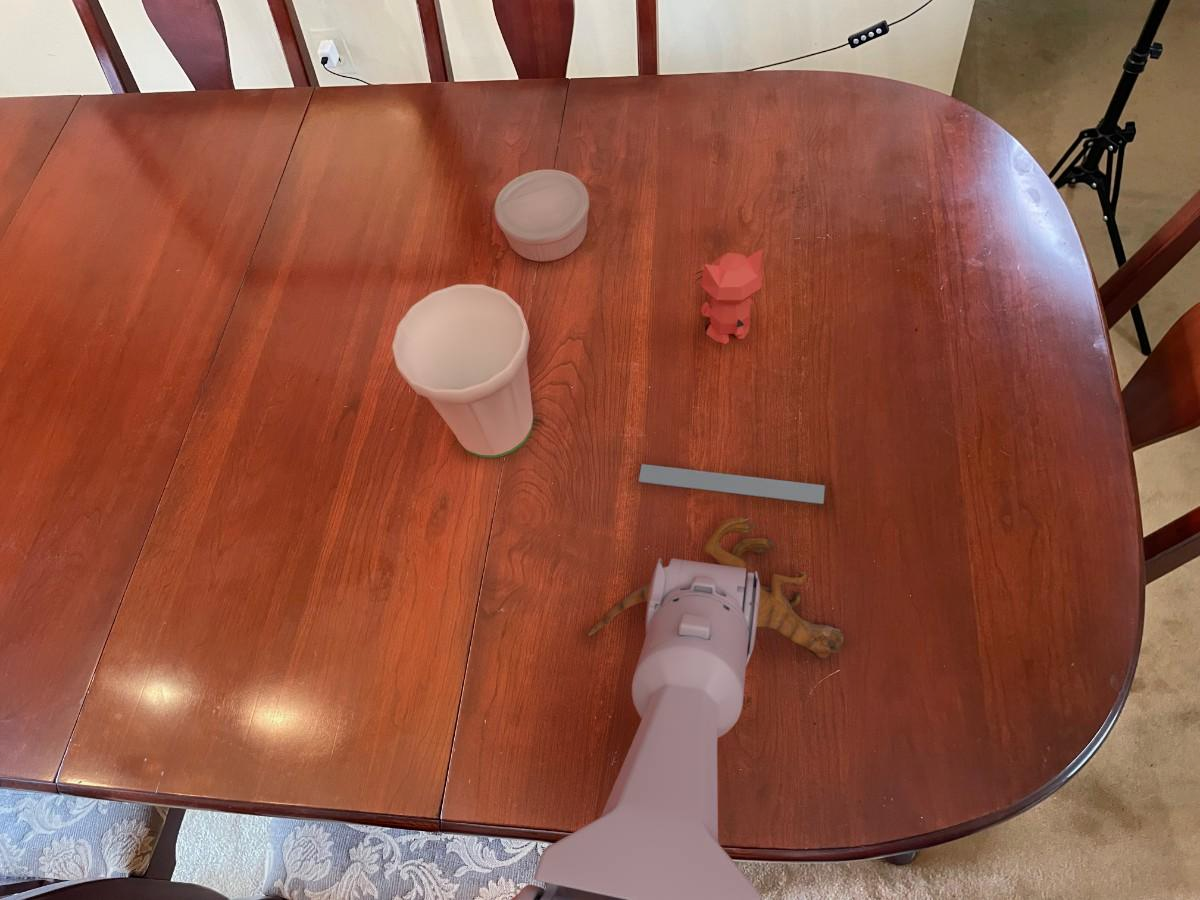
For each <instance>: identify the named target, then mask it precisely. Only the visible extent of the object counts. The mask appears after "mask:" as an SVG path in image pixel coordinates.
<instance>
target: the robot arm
mask: <svg viewBox="0 0 1200 900" xmlns="http://www.w3.org/2000/svg"><path fill="white" fill-rule="evenodd" d="M746 577H747V581H746V587H745V578H746ZM650 584H651V585H650V590H649V596H648V601H647V603H646V611H645V612H646V614H645V638H644V641H643V644H642V648H641V650H640V654H639V658H638V661H637V664H636V667H635V670H634V674H633V677H632V680H631V697H632V701H633V705H634V707H635V710H636V712H637V714H638V715H639V717H640V718H641V721H640V723H639V726H638V727H637V730H636V733H635V735H634V737H633V740H632V742H631V745H630V746H629V749H628V752H627V754H626V756H625V759H624V761H623V762H622V766H621V768H620V770H619V773H618V775H617V778H616V780H615V781H614V784H613V787H612V789H611V791H610V794H609V796H608V799H607V801H606V802H605V803H606V804H605V806H604V808H603V810H602V813H601V815H600V817H599V818H597V819H595V820H593V821H591V822H590V823H588V824H587V825H584V826H582V827H581V828H578V829H577V830H576V831H573V832H572V833H570V834H568V835H566V836H564V837H562V838H561V839H559V840H557V841H555V842H554V843H552V844H550V845H549V846H547V847H546V848H545V849H544V850H543V851H542V853H541V854H540V858H539V861H538V864H537V868H536V870H535V874H534V877H533V880H534V881H536V882H541V883H544V887H545V888H543V887H541V886H538V885H534V884H526V885H525V886H524V887H522V888H521V890H520V891H519V892H518V893H517V894H516V895H515V896H513V897H511V898H510V900H761V895H760V892H759V891H758V888H757V887H756V886H755V885H754V884H753V883H752V882H751V881H750V879H749V878H748V877H747V876H746V874H745V873H744V872H743V870H741V868H740V867H739V866H738V865H737V864H736V863H735V861H734V860H733V858H731V856H730V855H729V854H728V853H727V852H726V851H725V849H724V848H723V847H722V846H721V845H720V843H719V799H718V797H719V795H718V794H719V793H718V790H719V789H718V787H719V786H718V784H719V783H718V739H720V738H721V737H723V736H724V735H725V734H727V733H728V732H729V731H730V730H732V728H733V727H734V726H735V724H736V723H737V722H738V720H739V718H740V716H741V713H742V710H743V705H744V698H745V697H744V695H745V683H746V670H747V666H748V664H749V661H750V659H751V656H752V653H753V651H754V647H755V642H756V633H757V628H758V627H757V618H758V609H759V599H760V585H761V583H760V578H759V575H758V571H756V570H755V571H754V572H750V571H748V572H747V567H746V568H740V567H732V566H725V565H719V564H718V563H711V562H703V561H697V560H696V561H695V560H688V559H681V558H674V557H672V558H671V559H670V561H669V563H668V565H667V566H664V562H663V558H662V557H660V558H658V560H657V562H656V565H655V567H654V571H653V573H652V577H651V580H650Z"/></svg>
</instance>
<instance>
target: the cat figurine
mask: <svg viewBox="0 0 1200 900" xmlns="http://www.w3.org/2000/svg"><path fill="white" fill-rule="evenodd" d="M763 265H764V247H763V248H761V249H759V250H758V251H756V252H754V253H753V254H751V255H750V256H746V255H745V254H743V253H735V252H724V253H723V254H721V255H719V256H718V257H717V258H716V259H715V260H714V261H711V262H710V263H709V264H707V263H704V267H703V270H700V271H697V272H696V273H695V275H696V274H699V273H702V275H701V276H700V277H697V279H696V280H695V281H694V282H693V284H692V285H694V284H695V283H696V282H698V280H700V279H701V282H700V287H701V288H702V290H704V291H705V293H706V294H707V295H709V296H710V297H711V299H710V304H709V301H706V302H705V303H704V304H702V305H701V309H700V313H701V315H702V316H703V317H705V318H709V321H710V322H708V323H707V324H706V325H704V326H705V334H706V335H707V336H708V337H710V338H711V339H713V340H714V341H715V342H718V343H721V344H723V345H726V344H727V343H729V342H730V335H734V336H735V337H736V339H737V340H744V339H745V337H746V336H747V335H748V333H749V331H750V326H751V307H752V305H753V304H754V303H755V300H754V296H753V295H755V294H756V293H757V292H758V291H759V290H761V289H762V288H763V272H764V271H763V269H764V268H763V267H764V266H763Z"/></svg>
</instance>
